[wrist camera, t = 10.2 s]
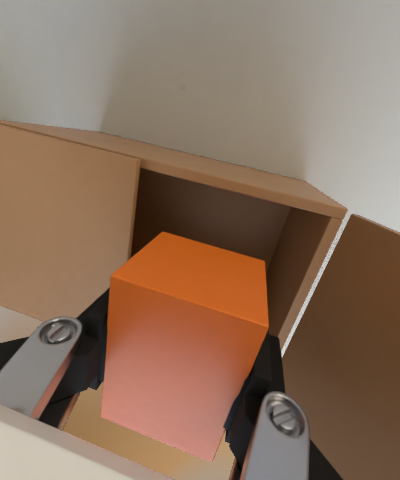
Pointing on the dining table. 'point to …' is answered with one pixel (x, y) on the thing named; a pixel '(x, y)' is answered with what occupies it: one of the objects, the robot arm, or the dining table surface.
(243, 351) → the orange block
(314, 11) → the dining table surface
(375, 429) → the flap
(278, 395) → the robot arm
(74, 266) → the open shipping carton
